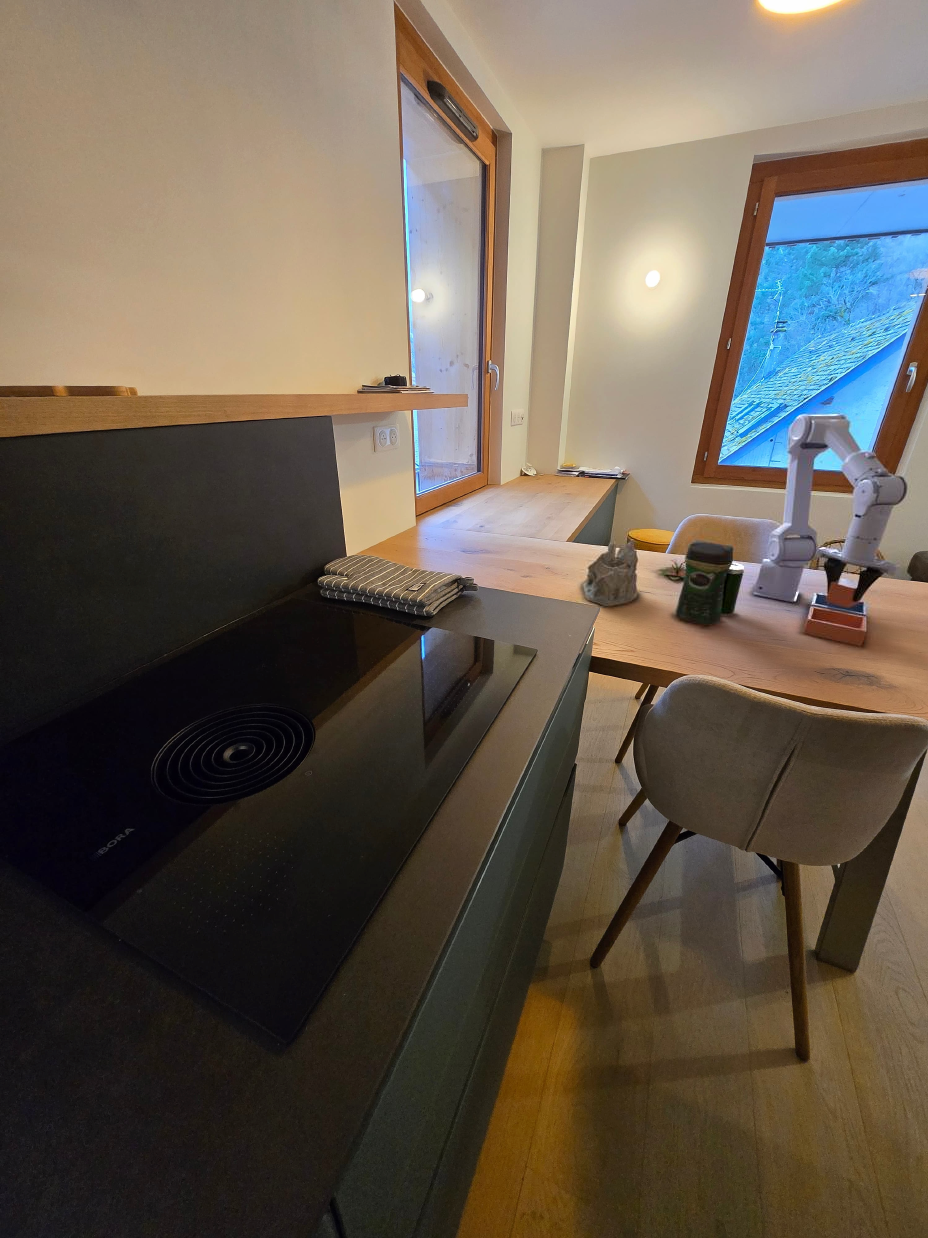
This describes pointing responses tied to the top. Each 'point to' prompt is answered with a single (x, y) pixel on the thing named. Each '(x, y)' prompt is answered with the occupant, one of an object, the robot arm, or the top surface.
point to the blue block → (838, 606)
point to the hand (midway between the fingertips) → (843, 596)
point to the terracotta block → (842, 593)
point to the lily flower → (674, 571)
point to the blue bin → (821, 603)
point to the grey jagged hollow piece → (613, 576)
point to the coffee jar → (704, 582)
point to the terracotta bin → (836, 625)
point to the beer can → (731, 589)
